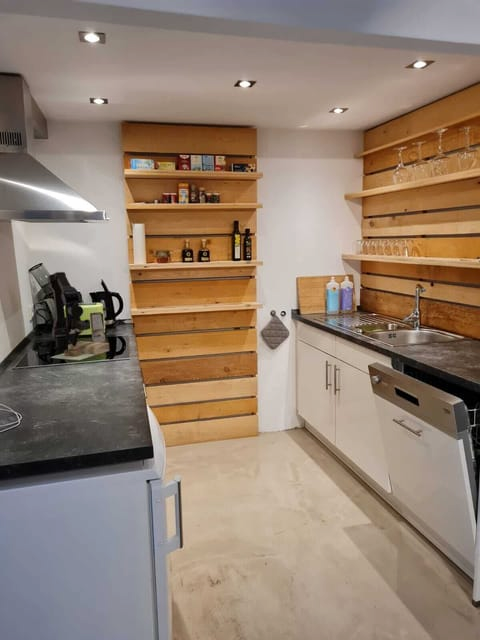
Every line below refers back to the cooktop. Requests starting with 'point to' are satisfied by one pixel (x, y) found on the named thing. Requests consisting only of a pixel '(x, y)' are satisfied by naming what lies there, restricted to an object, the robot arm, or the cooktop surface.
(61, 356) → the sage mat
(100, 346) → the birch riser
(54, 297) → the robot arm
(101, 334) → the coffee box
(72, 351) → the walnut tile
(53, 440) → the cooktop surface
